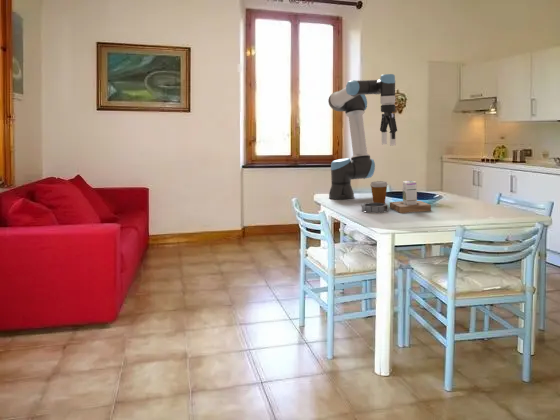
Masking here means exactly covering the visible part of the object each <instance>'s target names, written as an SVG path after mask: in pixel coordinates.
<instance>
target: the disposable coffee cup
mask: <svg viewBox="0 0 560 420" xmlns="http://www.w3.org/2000/svg"><path fill="white" fill-rule="evenodd" d="M388 185H389V184H388V181H381V180H380V181H378V180H377V181H371V182H370V188H371V194H372V195H371V197H372V203H386V199H387V190H388V189H387V187H388Z"/></svg>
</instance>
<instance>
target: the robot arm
mask: <svg viewBox="0 0 560 420" xmlns="http://www.w3.org/2000/svg"><path fill="white" fill-rule="evenodd" d="M366 95H380V112H381V113H382V114H381V121H380V126H379V127H380V128H379V131H380V132H381V145H388V133H387V132H388V130H387V129H388V127H389V145H390V146H396V144H397V143H396V138H397V137H396V132H398V125H397V121H396V115H395V113H394V112H396V104H395V103H396V100H397V97H396V75H395V74H393V73H385V74H381V75H380V78H379V79H371V80H370V79H368V80H367V79H364V80H363V79H362V80H361V79H360V80H349V81H347V82H346V85H345V87H344V88H342V89H341V90H338V91H334V92H332V93H331V94H330V96H329V97H328V99H327V100H328V105H329V107H330V109H332V110H333V111H335V112H345V116H346V117H348V122H349V123H348V124H349V131H350V133H349V134H350V141H351V148H352V149H351V150H352V156H351V158H349V157H345V158H339V159H335V160H332V162H330V163H331V164H330V173H331V176H330V177H331V178H330V179H331V186H330V190H329V193H328V198H329V199H332V200H349V199H353V198H354V197H355V193H354V190H353V187H352V185H351V184H352V183H351V182H352V181H351V180H361V179H363V180H365V179H370V178H372V176H373V175H374V173H375V171H376V163H375V161H374V159H373V158H371V155H370V154H369V153H368V149H367V148H368V147H367V143H366V142H367V141H366V133H365V126H364V117H363V115H364V113H365V111H366V109H367V107H368V99H367V97H366Z"/></svg>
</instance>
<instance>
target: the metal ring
mask: <svg viewBox="0 0 560 420" xmlns="http://www.w3.org/2000/svg"><path fill="white" fill-rule="evenodd" d="M387 210H388V203H386V202H385V203H373V202H366V203H362V204H361V212H363V211H366V212H365V213H367V212H380V213H385V212H384V211H386V212H388V211H387Z"/></svg>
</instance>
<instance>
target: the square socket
mask: <svg viewBox="0 0 560 420" xmlns="http://www.w3.org/2000/svg"><path fill="white" fill-rule="evenodd" d="M389 208H390V209H391V210H394V211H396V212H398V213H400V214H404V213H406V214H407V213H417V212H419V213H420V212H431V211H432V204H431V203H427V202H425V201H422V200H420V201H417V204H416V205H403V200H402V201H389Z"/></svg>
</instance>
